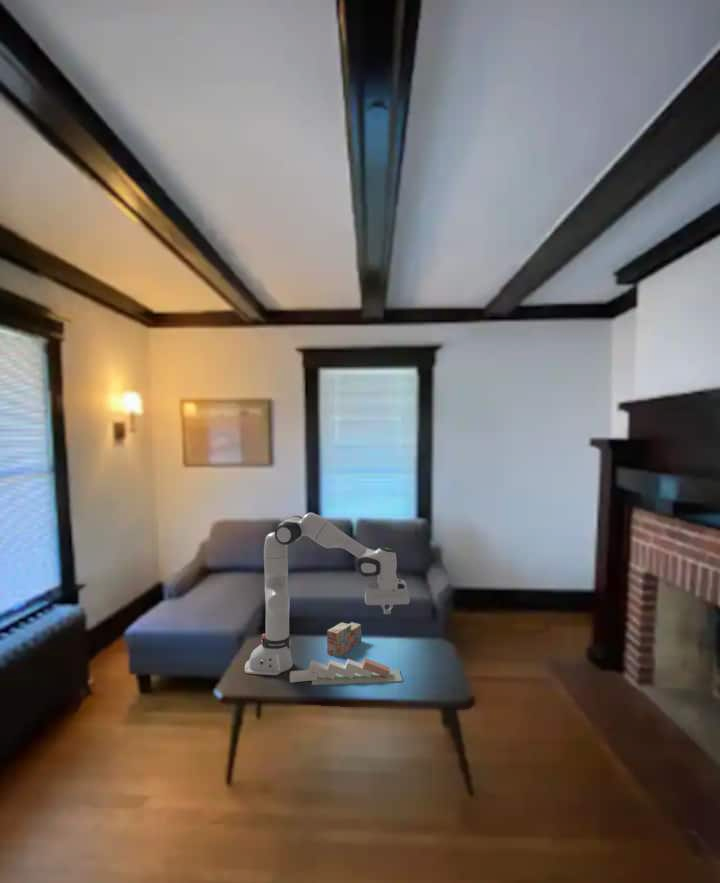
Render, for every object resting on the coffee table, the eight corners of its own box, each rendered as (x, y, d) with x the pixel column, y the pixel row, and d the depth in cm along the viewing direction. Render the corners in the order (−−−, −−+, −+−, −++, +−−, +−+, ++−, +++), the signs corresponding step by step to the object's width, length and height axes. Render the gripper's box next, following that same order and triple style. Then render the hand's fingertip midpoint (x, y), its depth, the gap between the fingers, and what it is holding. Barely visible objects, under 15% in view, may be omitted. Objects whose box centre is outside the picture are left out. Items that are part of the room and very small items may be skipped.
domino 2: (333, 679, 213) (308, 670, 212) (333, 675, 217) (309, 665, 216) (336, 673, 213) (311, 664, 212) (336, 668, 217) (311, 659, 216)
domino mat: (311, 685, 210) (311, 683, 210) (312, 673, 220) (312, 672, 220) (402, 681, 212) (402, 680, 212) (399, 670, 222) (399, 669, 222)
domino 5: (387, 677, 215) (362, 668, 214) (386, 673, 219) (362, 664, 218) (389, 671, 215) (365, 662, 214) (388, 667, 219) (364, 657, 218)
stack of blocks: (352, 639, 257) (351, 616, 256) (361, 641, 253) (361, 618, 253) (327, 654, 239) (326, 630, 239) (337, 657, 235) (336, 633, 235)
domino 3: (352, 678, 214) (327, 670, 213) (352, 674, 218) (327, 665, 217) (354, 672, 214) (329, 663, 213) (354, 668, 218) (329, 659, 217)
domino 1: (317, 679, 213) (290, 682, 212) (317, 675, 217) (290, 677, 216) (316, 673, 213) (289, 675, 212) (317, 668, 217) (290, 671, 216)
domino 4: (370, 678, 214) (345, 669, 213) (369, 673, 218) (345, 664, 217) (372, 672, 214) (347, 662, 213) (371, 667, 218) (347, 658, 217)
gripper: (364, 586, 212) (364, 617, 212) (410, 585, 213) (410, 615, 213) (363, 581, 218) (363, 611, 219) (408, 580, 219) (408, 610, 220)
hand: (387, 613), depth 216 cm, fingers closed
